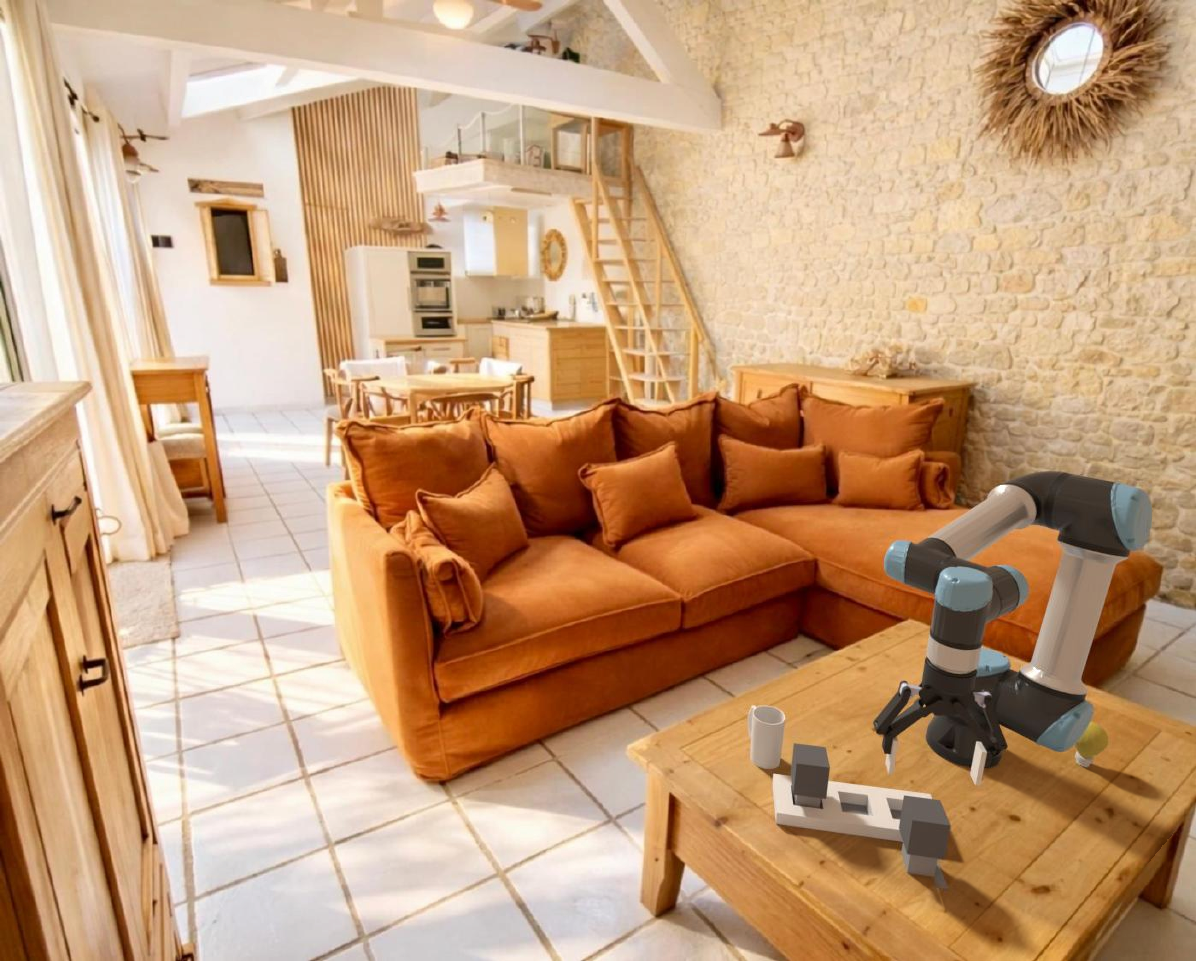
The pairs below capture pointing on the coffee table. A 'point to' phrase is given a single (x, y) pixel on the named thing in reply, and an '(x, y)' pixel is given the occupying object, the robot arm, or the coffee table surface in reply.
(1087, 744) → the light bulb
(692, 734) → the coffee table surface
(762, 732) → the mug
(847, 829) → the strip
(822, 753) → the twin plug
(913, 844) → the plug
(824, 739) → the coffee table surface
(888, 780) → the coffee table surface
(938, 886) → the pad
